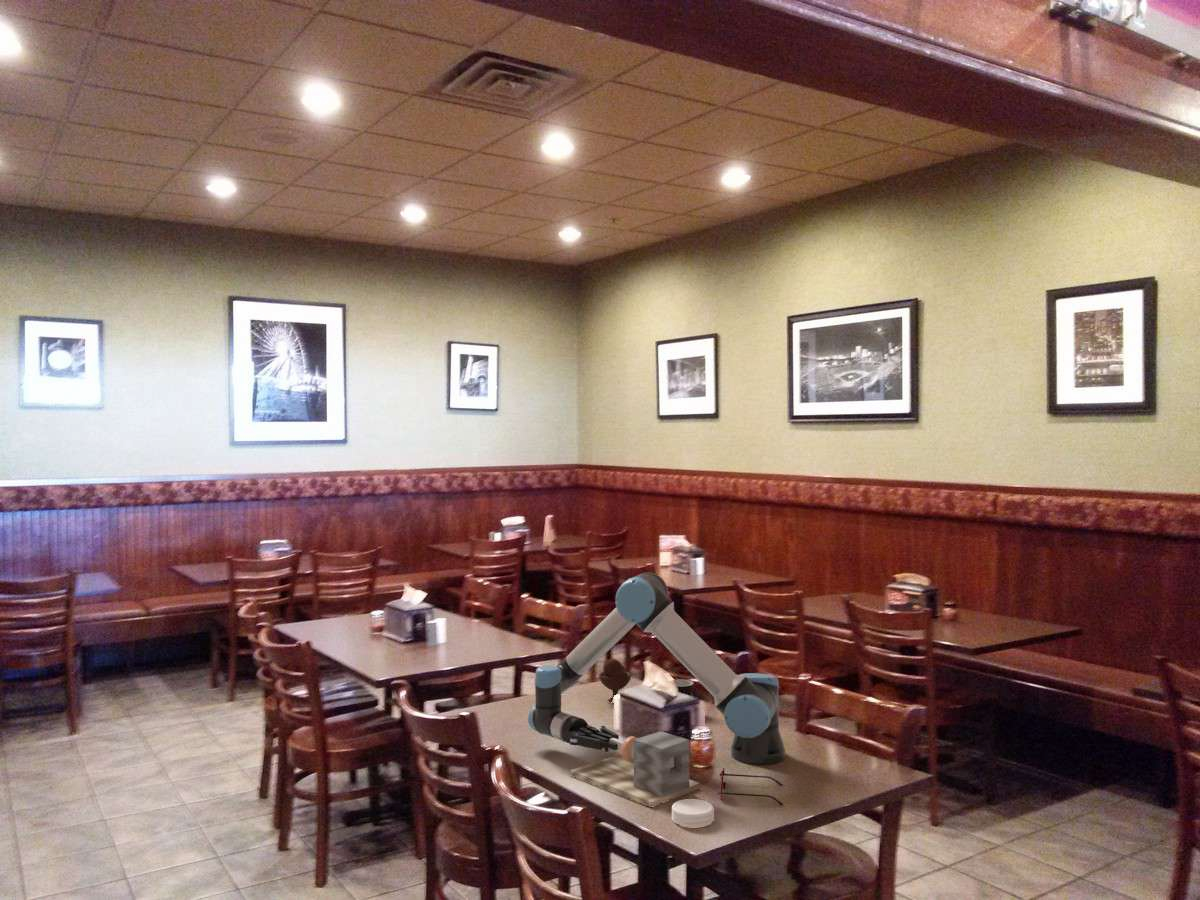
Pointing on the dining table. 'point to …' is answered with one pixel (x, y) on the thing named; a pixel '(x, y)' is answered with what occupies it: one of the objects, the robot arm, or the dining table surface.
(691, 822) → the white jar lid
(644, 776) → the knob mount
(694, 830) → the dining table surface
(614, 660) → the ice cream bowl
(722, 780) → the glasses
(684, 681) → the coffee mug
